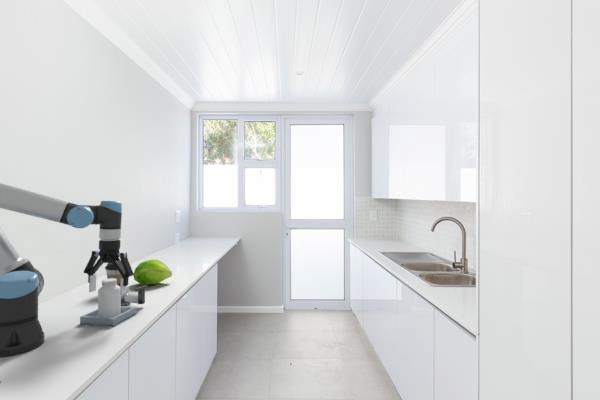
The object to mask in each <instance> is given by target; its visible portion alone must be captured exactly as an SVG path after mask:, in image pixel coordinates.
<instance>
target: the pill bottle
mask: <svg viewBox="0 0 600 400" xmlns="http://www.w3.org/2000/svg"><path fill="white" fill-rule="evenodd" d="M97 309H98V317H106V318H114V317H116V316H118V315H120V313H121V295H120V286H118V285H117V279H115V278H110V279H107V278H103V280H101V287H99V288H98V291H97Z"/></svg>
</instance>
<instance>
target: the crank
mask: <svg viewBox="0 0 600 400" xmlns="http://www.w3.org/2000/svg"><path fill="white" fill-rule="evenodd" d="M148 286H149V285H142V286H138V287H136V288H135V289H134V291H135V292H137V294H136V293H130V292H129V286H127V288H126V293H125V294H123V295H121V303H123V302H130V303H132V304H138V305H144V304H145V303H146V290H147V289H148Z"/></svg>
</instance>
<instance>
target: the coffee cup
mask: <svg viewBox="0 0 600 400" xmlns="http://www.w3.org/2000/svg"><path fill="white" fill-rule="evenodd" d="M121 263H122V262H121ZM122 265H123V264H122ZM104 269H105V271H106V277H107V278H106V279H110V278H115V279H117V285H118V286H120V283H121V278H122V275H121V274H120V272H119V271H118V270H117V268H116V267H115V265H113V264H112V263H106V265H105V267H104Z"/></svg>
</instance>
